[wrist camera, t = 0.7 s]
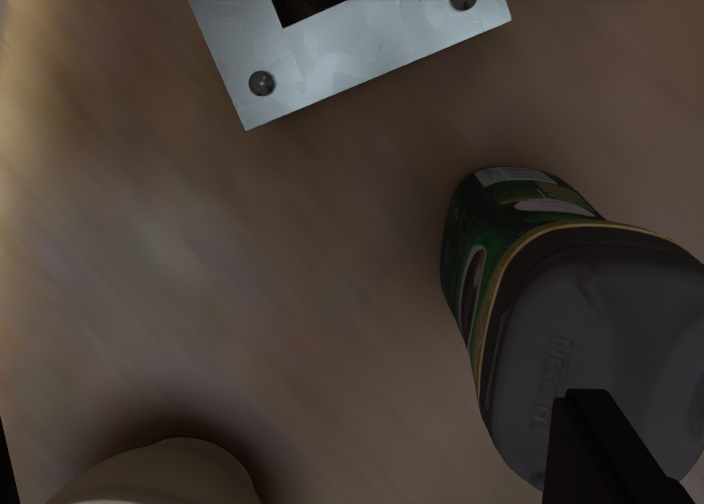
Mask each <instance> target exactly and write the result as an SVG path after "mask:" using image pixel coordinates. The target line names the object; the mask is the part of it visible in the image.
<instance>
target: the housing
mask: <svg viewBox="0 0 704 504" xmlns="http://www.w3.org/2000/svg"><path fill="white" fill-rule="evenodd" d="M188 2H189V5H190V7H191V9H192V11H193V14H194V16H195V18H196V20H197V23H198V25H199V27H200V29H201V32H202V34H203V36H204V38H205V41H206V43H207V45H208V47H209V50H210V52H211V54H212V56H213V59H214V61H215V63H216V65H217V68H218V70H219V72H220V74H221V77H222V79H223V81H224V83H225V86H226V88H227V90H228V93H229V95H230V97H231V99H232V102H233V104H234V106H235V108H236V111H237V113H238V115H239V117H240V120H241V122H242V124H243V126H244V129H245V131H248V130H250V129H253V128H255V127H258V126H260V125H263V124H265V123H268V122H270V121H272V120H275V119H277V118H280V117H282V116H284V115H287V114H289V113H292V112H294V111H296V110H299V109H301V108H304V107H306V106H308V105H311V104H313V103H316V102H318V101H320V100H323V99H325V98H328V97H330V96H332V95H335V94H337V93H340V92H342V91H344V90H347V89H349V88H352V87H354V86H356V85H359V84H361V83H364V82H366V81H368V80H371V79H373V78H375V77H378V76H380V75H383V74H385V73H387V72H390V71H392V70H395V69H397V68H399V67H402V66H404V65H407V64H409V63H411V62H414V61H416V60H419V59H421V58H423V57H426V56H428V55H431V54H433V53H435V52H438V51H440V50H443V49H445V48H447V47H450V46H452V45H455V44H457V43H459V42H462V41H464V40H467V39H469V38H471V37H474V36H476V35H479V34H481V33H483V32H486V31H488V30H491V29H493V28H495V27H497V26H500V25H502V24H504V23H507V22H509V21H511V20H512V19H511V16H510V13H509V9H508V6H507V3H506V0H347V1H345V2H342V3H340V4H338V5H336V6H333V7H331V8H329V9H327V10H324V11H322V12H320V13H318V14H315V15H313V16H311V17H309V18H306V19H304V20H302V21H299V22H297V23H295V24H293V23H292V20H291V18H290V15H289V13H288V10H287V8H286V5H285V3H284V0H188Z"/></svg>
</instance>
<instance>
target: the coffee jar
mask: <svg viewBox="0 0 704 504" xmlns="http://www.w3.org/2000/svg"><path fill="white" fill-rule="evenodd" d="M441 286H442V290H443V293H444V296H445V299H446V301H447V303H448V306H449V308H450V310H451V312H452V314H453V316H454V318H455V320H456V322H457V325H458V327H459V330H460V332H461V335H462V337H463V340H464V342H465V345H466V348H467V351H468V354H469V358H470V362H471V367H472V372H473V377H474V383H475V388H476V394H477V400H478V404H479V409H480V413H481V416H482V419H483V421H484V424H485V426H486V428H487V430H488V432H489V435H490V437H491V438H492V441H493V443H494V445H495V447H496V449H497V450H498V452H499V454H500V455H501V457H502V458H503V460H504V461H505V462H506V464H507V465H508V466H509V467H510V468H511V469H512V470H513V471H514V472H515V473H516V474H517V475H519V476H520V477H521V478H522V479H524V480H525V481H527V482H528V483H529V484H531V485H532V486H534V487H535V488H537V489H538V490H540V491H543V489H544V480H545V470H546V461H547V452H548V443H549V434H550V424H551V415H552V406H553V401H554V399H555V398H556V397H564V396H565V393H566V390H568V389H569V388H578V389H605V390H607V391H608V392H609V393H610V395H611V396H612V398H613V399H614V400H615V402H616V403H617V405H618V406H619V408H620V409H621V411H622V412H623V414H624V415H625V416H626V418H627V419H628V421H629V422H630V424H631V425H632V427H633V428H634V430H635V431H636V432H637V434H638V435H639V437H640V438H641V440H642V441H643V443H644V444H645V446H646V447H647V448H648V450H649V451H650V453H651V454H652V456H653V457H654V459H655V460H656V461H657V463H658V464H659V466H660V467H661V469H662V470H663V472H664V473H665V475H666V476H667V477H671V478H673V479H676V480H677V481H678V482H679V481H680V480H681V479H683V478H684V477H685V475H686V474H687V473H688V472H689V471H690V470H691V468H692V467H693V466H694V465H695V463H696V462H697V460H698V459H699V457H700V455H701V453H702V452H703V449H704V264H702V263H701V262H700V261H698V260H697V259H696V258H695V257H693V256H692V255H691V254H690V253H689V252H688V251H687V250H686V249H685V248H684V247H682V246H681V245H680V244H679V243H677V242H675V241H673V240H672V239H670V238H668V237H665V236H663V235H660V234H658V233H655V232H652V231H649V230H647V229H644V228H640V227H636V226H632V225H628V224H623V223H617V222H612V221H607V220H606V219H604V218H603V217H602V216H601V215H600V214H599V213H598V212H597V211H596V210H595V209H594V208H593V207H592V206H591V205H590V204H589V203H588V202H587V201H586V200H585V199H584V198H583V197H582V196H581V195H580V194H579V193H578V192H577V191H576V190H575V189H574V188H572V187H571V186H570V185H569V184H567V183H566V182H565V181H563V180H562V179H560V178H558V177H556V176H554V175H552V174H549V173H545V172H542V171H537V170H532V169H526V168H518V167H494V168H487V169H483V170H480V171H478V172H476V173H473V174H472V175H470V176H469V177H468V178H466V179H465V180H464V181H463V182H462V183H461V185H460V186H459V187H458V189H457V191H456V192H455V194H454V197H453V200H452V203H451V206H450V209H449V214H448V217H447V222H446V227H445V231H444V238H443V244H442V252H441Z"/></svg>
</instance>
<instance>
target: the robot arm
mask: <svg viewBox="0 0 704 504" xmlns="http://www.w3.org/2000/svg"><path fill="white" fill-rule="evenodd" d="M0 504H20V500H19V496H18V491H17V487H16V483H15V478H14V474H13V469H12V465H11V461H10V456H9V452H8V447H7V443H6V439H5V434H4V430H3V426H2V421H1V417H0ZM542 504H695V503H694V501H693V500H692V498H691V497H690V496H689V494H688V493H687V491H686V490H685V489H684V487H683V486H682V485H681V484H680V483H679V482H678V481H677V480H676V479H673V478H671V477H667V476H666V475H665V473H664V472H663V470H662V469H661V467H660V466H659V464H658V463H657V461H656V460H655V459H654V457H653V456H652V454H651V453H650V451H649V450H648V448H647V447H646V446H645V444H644V443H643V441H642V440H641V438H640V437H639V435H638V434H637V432H636V431H635V430H634V428H633V427H632V425H631V424H630V422H629V421H628V419H627V418H626V416H625V415H624V414H623V412H622V411H621V409H620V408H619V406H618V405H617V403H616V402H615V400H614V399H613V398H612V396H611V395H610V393H609V392H608V391H607V390H605V389H578V388H569V389H568V390H566V393H565V396H564V397H556V398H555V399H554V401H553V406H552V415H551V424H550V434H549V443H548V452H547V461H546V470H545V480H544V489H543V498H542Z"/></svg>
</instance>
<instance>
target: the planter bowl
mask: <svg viewBox="0 0 704 504" xmlns="http://www.w3.org/2000/svg"><path fill="white" fill-rule="evenodd" d="M46 504H261V502H260V500H259V498H258V496H257V494H256V493H255V491H254V486H253V483H252V480H251V478H250V476H249V474H248V472H247V470H246V469H245V468H244V467H243V465H242V464H241V463H240V462H239V461H238V460H237V458H236V457H234V456H233V455H232V454H231V453H229V452H228V451H226V450H225V449H223V448H222V447H220V446H218V445H216V444H214V443H211V442H208V441H205V440H202V439H197V438H189V437H177V438H170V439H166V440H162V441H159V442H157V443H155V444H153V445H151V446H146V447H141V448H137V449H133V450H130V451H127V452H124V453H121V454H118V455H116V456H113V457H111V458H109V459H107V460H105V461H103V462H101V463H99V464H97V465H95V466H93V467H91V468H90V469H88V470H86V471H85V472H83V473H82V474H80V475H79V476H77V477H76V478H74V479H73V480H72V481H71V482H69V483H68V484H67V485H66V486H64V487H63V488H62V489H61V490H60V491H59V492H57V493H56V494H55V495H54V496H53V497H52V498H51V499H50V500H49V501H48V502H47V503H46Z"/></svg>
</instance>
